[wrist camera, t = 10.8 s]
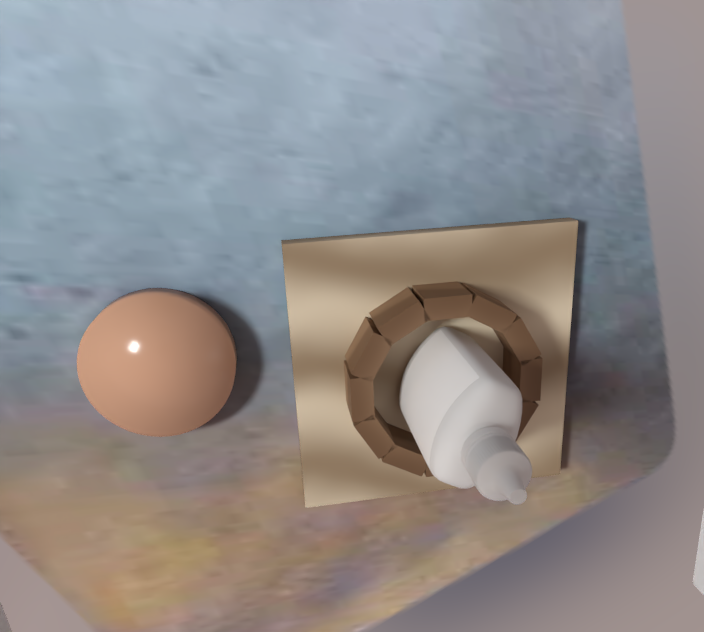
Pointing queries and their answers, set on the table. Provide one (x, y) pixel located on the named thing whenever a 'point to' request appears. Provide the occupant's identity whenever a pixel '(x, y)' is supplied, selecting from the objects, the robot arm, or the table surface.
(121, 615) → the table surface
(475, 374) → the eye dropper bottle
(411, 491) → the ring collar
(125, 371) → the peach domed part
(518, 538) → the table surface
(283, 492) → the table surface
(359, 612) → the table surface
